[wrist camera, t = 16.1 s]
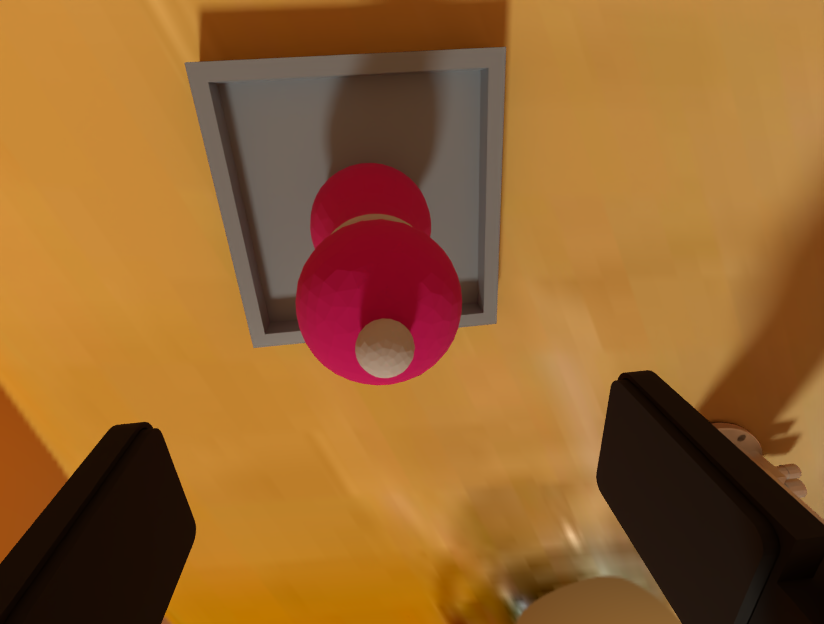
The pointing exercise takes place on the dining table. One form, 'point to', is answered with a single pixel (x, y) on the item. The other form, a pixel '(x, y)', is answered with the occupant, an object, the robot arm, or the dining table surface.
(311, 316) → the pepper mill
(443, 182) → the tray
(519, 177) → the dining table surface
